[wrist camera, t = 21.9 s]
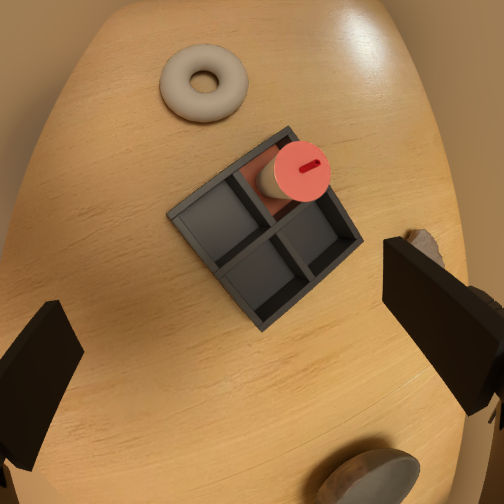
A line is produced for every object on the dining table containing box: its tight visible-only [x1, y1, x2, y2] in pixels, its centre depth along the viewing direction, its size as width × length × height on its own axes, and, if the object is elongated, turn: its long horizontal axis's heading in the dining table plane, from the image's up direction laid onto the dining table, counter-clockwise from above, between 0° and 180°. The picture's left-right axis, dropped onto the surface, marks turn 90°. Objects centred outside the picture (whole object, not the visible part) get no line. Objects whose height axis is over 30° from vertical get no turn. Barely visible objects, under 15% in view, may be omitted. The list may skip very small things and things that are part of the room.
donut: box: [159, 44, 249, 122], centre depth 31 cm, size 10×4×10 cm
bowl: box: [314, 448, 420, 504], centre depth 40 cm, size 20×20×10 cm
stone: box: [406, 229, 445, 268], centre depth 40 cm, size 10×8×6 cm
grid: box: [166, 126, 364, 332], centre depth 34 cm, size 15×15×5 cm
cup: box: [256, 141, 331, 202], centre depth 29 cm, size 5×5×12 cm
